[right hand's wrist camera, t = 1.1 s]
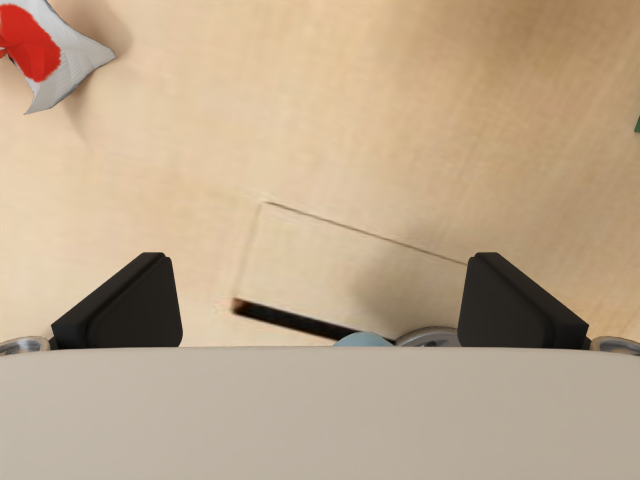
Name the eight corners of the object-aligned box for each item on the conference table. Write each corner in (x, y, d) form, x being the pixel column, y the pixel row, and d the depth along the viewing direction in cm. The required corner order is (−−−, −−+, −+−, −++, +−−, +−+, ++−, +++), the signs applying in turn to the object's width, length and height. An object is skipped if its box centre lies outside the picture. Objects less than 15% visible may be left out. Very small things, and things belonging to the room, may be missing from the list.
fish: (-99, -107, 27) (-188, -89, 21) (128, -1, 35) (115, 36, 29) (-75, 33, 33) (-137, 80, 27) (113, 95, 41) (100, 142, 35)
